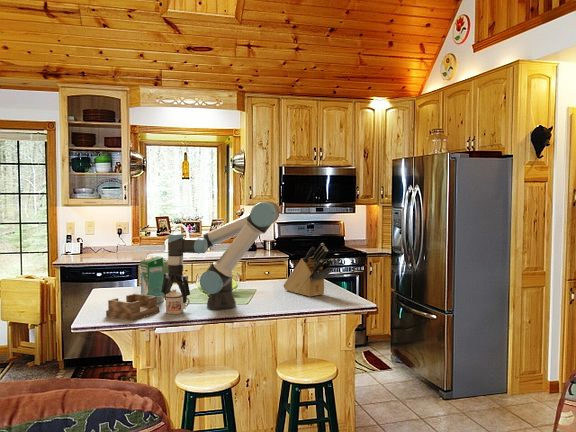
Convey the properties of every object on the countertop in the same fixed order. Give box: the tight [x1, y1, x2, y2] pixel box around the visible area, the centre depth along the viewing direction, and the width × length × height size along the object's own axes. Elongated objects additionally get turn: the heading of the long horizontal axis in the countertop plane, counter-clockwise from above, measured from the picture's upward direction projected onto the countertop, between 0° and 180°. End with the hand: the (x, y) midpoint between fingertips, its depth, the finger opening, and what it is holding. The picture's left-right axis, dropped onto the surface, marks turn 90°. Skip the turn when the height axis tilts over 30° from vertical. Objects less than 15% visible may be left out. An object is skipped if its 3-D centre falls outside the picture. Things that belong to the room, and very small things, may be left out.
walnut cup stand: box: [105, 293, 160, 321], centre depth 250 cm, size 17×19×8 cm
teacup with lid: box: [164, 288, 190, 315], centre depth 254 cm, size 12×9×12 cm
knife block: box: [282, 242, 334, 298], centre depth 296 cm, size 11×35×31 cm, turn 36°
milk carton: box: [139, 255, 165, 304], centre depth 278 cm, size 9×9×25 cm
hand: (175, 307), depth 255 cm, fingers open, 9 cm apart
